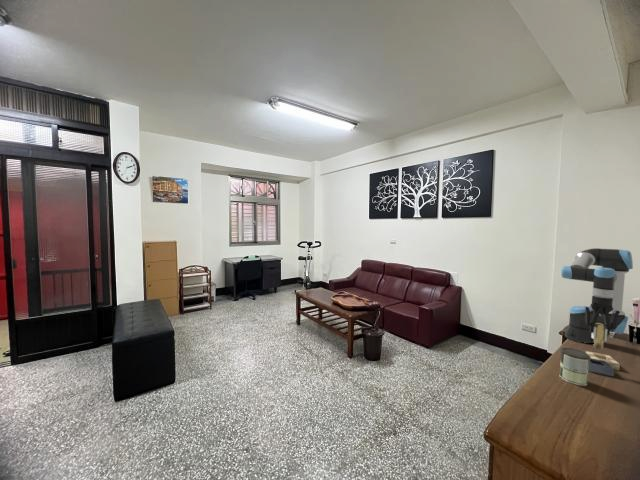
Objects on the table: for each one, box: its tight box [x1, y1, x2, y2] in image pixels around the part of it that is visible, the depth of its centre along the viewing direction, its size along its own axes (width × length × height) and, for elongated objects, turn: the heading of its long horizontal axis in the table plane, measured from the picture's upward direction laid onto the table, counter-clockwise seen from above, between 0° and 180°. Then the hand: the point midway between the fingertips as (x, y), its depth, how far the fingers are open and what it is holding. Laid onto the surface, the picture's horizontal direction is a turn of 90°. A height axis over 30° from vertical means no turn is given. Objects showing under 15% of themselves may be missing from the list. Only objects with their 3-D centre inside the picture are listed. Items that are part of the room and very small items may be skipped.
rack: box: [585, 350, 621, 371], centre depth 149 cm, size 12×10×4 cm
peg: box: [592, 323, 605, 350], centre depth 141 cm, size 4×4×13 cm
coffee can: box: [558, 347, 590, 387], centre depth 130 cm, size 10×10×14 cm
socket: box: [588, 358, 615, 378], centre depth 142 cm, size 10×10×4 cm
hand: (598, 339), depth 141 cm, fingers closed on peg, 4 cm apart
